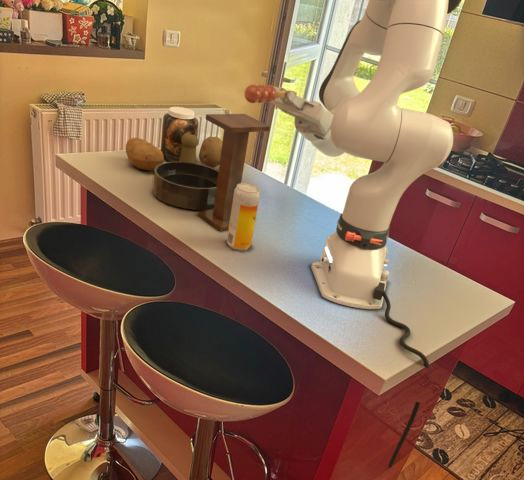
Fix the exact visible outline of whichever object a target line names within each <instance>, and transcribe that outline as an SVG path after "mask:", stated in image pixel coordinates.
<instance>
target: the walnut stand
mask: <svg viewBox="0 0 524 480" xmlns="http://www.w3.org/2000/svg"><path fill="white" fill-rule="evenodd" d="M205 120H206V121H207V122H210V123H211V124H213V125H215V126H217V127H219V128H221V129H222V130H223V136H222V141H223V142H222V150H221V157H220V165H218V171H219V172H218V180H217V188H216V195H215V203H214V209H207V210H198V211H197V216H198V218H201V219H202V220H203V221H205V222H206V223H207V224H209V225H211V226H212V227H213V228H215V229H216V230H217V231H219V232H223V231H228V229H229V222H230V216H231V209H232V202H233V196H234V190H235V188H236V187H237V185H238V184H241V183H242V180H243V174H244V173H243V172H244V168H245V163H246V156H247V149H248V142H249V136H250V133H257V132H259V133H260V132H270V129H271V126H270V125H268V124H266V123H264V122H263V121H260V120H258V119H257V118H255V117H252V116H250V115H248V114H246V113H212V114H211V113H209V114H207V113H206V114H205Z"/></svg>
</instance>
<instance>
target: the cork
mask: <svg viewBox="0 0 524 480" xmlns="http://www.w3.org/2000/svg"><path fill="white" fill-rule="evenodd" d="M181 142H182V145H183V146H182V150H181V155H180V159H179V162H191V163H197V148H198V147H197V146H198V144H199V137H198V138H197V137H196V136H195V135H192V134H184V135H183V136H182V138H181Z"/></svg>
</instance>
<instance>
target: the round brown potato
mask: <svg viewBox="0 0 524 480" xmlns="http://www.w3.org/2000/svg"><path fill="white" fill-rule="evenodd" d="M222 142H223V139H221V138H220V137H218V136H208V137H206V138H204V140H203V141H202V143H201V146H200V149H199V152H198V160H199V161H200V163H202V165H205V166H208V167H211V168H214V169H215V168H216V167H219V165H220V157H221V150H222Z"/></svg>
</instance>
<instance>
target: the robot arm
mask: <svg viewBox="0 0 524 480" xmlns="http://www.w3.org/2000/svg"><path fill="white" fill-rule="evenodd" d="M461 2H462V0H368V2H367V5H366V8H365V11H364V13H363V15H362V17H361V19H359V20H358V21H356V22H355V23H354V25H353V26H352V27H351V28H350V30H349V32H348V33H347V36H346V38H345V39H344V42H343V44H342V46H341V49H340V50H339V53H338V55H337V57H336V59H335V61H334V63H333V65H332V67H331V70H330V71H329V72H328V74H327V75H326V77H325V78H324V80H323V81H322V83H321V84H320V87H319V90H318V99H319V101H320V102H321V103H320V102H318V101H316V100H311V101H310V100H308V99H305V98H304V97H301V96H298V95H295V94H294V93H293V92H291V91H292V90H287V89H285V88H284V87H281V86H280V87H278V86H274V85H273V87H274V88H275V90H276V91H287V93H286V95H285V97H286V98H275V100H274V101H273V102H271V103H272V105H274V107H276V108H277V109H278V110H280V111H281V112H283V113H284V114H286V115H288V116H290V117H292V118H294V128H295V129H296V131H297V132H298V133H299V134H300V135H302V136H303V138H305V139H306V140H307V141H309V142H310V143H311V145H312V146H313V147H314V148H315V149H316V150H318V151H319V152H320V153H322V154H323V155H325V156H327V157H331V158H336V157H340V156H342V155H344V154H348V155H350V156H353V157H354V158H360V159H365V160H370V161H374V162H380V163H382V165H381V166H380V167H379V168H378V169H376V171H374V172H371V173H368V174H364V175H361V176H360V177H358V178H356V179H355V180H354V181H353V182H352V183H351V185H350V186H349V189H348V192H347V197H346V200H345V203H344V207H343V210H342V213H341V214H340V215H339V217H338V219H337V223H336V228H335V232H334V233H332V234H330V235H329V236H327V237H326V240H325V242H324V243H325V244H324V246H323V250H322V253H321V256H320V259H319V261H315V262H312V263H311V266H310V268H311V271H312V274H313V276H314V280H315V282H316V284H317V287H318V290H319V293H320V295H321V297H323V298H324V299H326V300H328V301H330V302H332V303H335V304H339V305H342V306H346V307H351V308H356V309H362V310H381V308H382V307H383V303H384V301H385V306H386V308H385V311H384V317H385V319H386V321H387V322H389V324H391V325H393V326H396V327H399V328H401V329H403V330H405V333H404V334H403V335H402V336H401V337H400V339H399V344H400V345H401V347H402V348H403V349H404V350H406V351H408V352H409V353H411V354H413V355H416V356H418V357H419V358H420V359H421V360H422V361H423V364H424V367H425V369H429V370H430V368H431V367H430V362H429V360H428V357H426V355H425V354H424V353H423V352H421V351H419V350H418V349H416V348H414V347H412V346H410V345H408V344H406V342H405V340H406V339H407V338H408V337H410V335H411V329H410V327H408V326H407V325H406V324H404V323H402V322H399V321H396V320H395V319H393V318H391V316H390V312H391V306H392V305H391V301H390V299H389V296H388V295H387V293H386V287H387V282H388V277H389V275H390V271H389V270H386V269H384V266H385V267H387V266H388V264H389V261H390V259H388V258H386V257H387V254H388V251H389V249H388V247H387V246H386V245H387V241H388V239H389V235H390V230H391V227H390V224H391V222H392V219H393V216H394V214H395V211H396V208H397V206H398V204H399V202H400V199H402V196H403V194H404V193H405V191H406V190H407V189H408V187H410V186H411V185H412V184H413V183H414V182H415V181H416V180H417V179H419V177H421V176H423V175H424V174H425V173H427V172H430V171H431V170H433V169H436V168H438V167H440V165H442V164H443V163H444V162H445V161H446V160H447V159H448V157H449V156H450V154H451V151H452V149H453V147H454V132H453V127H452V126H451V124H450V122H449V121H447V120H444V119H443V118H441V117H439V116H436V115H434V114H431V113H429V112H424V111H418V110H414V109H409V108H404V107H400V106H398V101H399V99H400V96H401V95H402V94H405V93H408V92H412V91H415V90H417V89H420V88H422V87H424V86H425V85H427V84H428V83H429V81H431V80H432V78H433V76H434V75H435V72H436V67H437V64H438V63H437V62H438V58H439V56H440V55H439V54H440V50H441V46H442V41H443V37H444V32H445V28H446V23H447V17H448V15H449V14H451V13H452V12H453V11H454V10H456V9H457V8H458V7H459V6H460V4H461ZM365 54H367V55H370V56H380V58H379V61H378V64H377V67H376V70H375V72H374V74H373V75H372V78H371V79H370V81H369V82H368V84H367V85H366V86H365V87H364V88H363V90H361V91H359V89H358V87H357V86H356V82H355V79H354V77H355V76H354V75H355V72H356V70H357V69H358V67H359V64H360V63H361V60H362V59H363V56H364V55H365ZM420 405H421V402H420V401H415V403H414V406H413V409H412V412H411V414H410V416H409V419H408V422H407V424H406V426H405V427H404V430H403V433H402V435H401V436H400V438H399V440H398V442H397V445H396V446H395V449H394V451H393V454H392V455H391V458H390V460H389V463H388V468H390V469H391V468H393V466H394V465H395V461H396V459H397V457H398V454H399V452H400V451H401V448H402V446H403V444H404V442H405V440H406V438H407V436H408V434H409V432H410V430H411V428H412V426H413V423H414V421H415V419H416V416H417V413H418V411H419V408H420Z"/></svg>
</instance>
